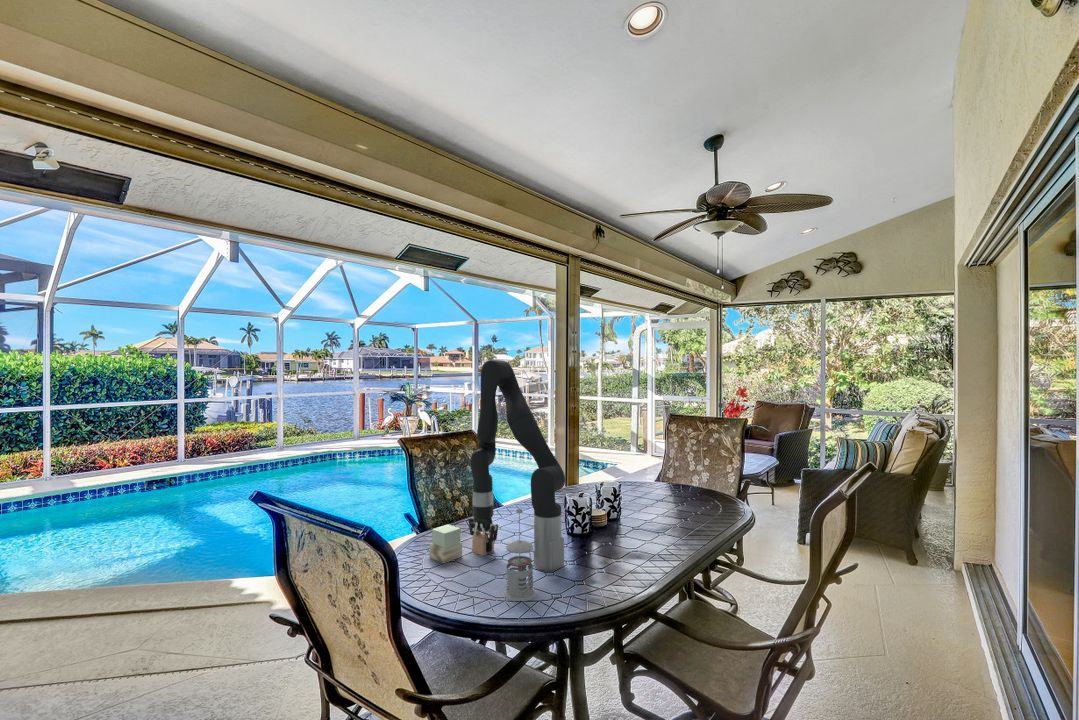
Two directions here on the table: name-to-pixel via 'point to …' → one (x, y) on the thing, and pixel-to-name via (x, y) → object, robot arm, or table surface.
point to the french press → (520, 571)
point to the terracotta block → (480, 544)
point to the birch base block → (445, 552)
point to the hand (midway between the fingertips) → (483, 549)
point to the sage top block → (446, 536)
